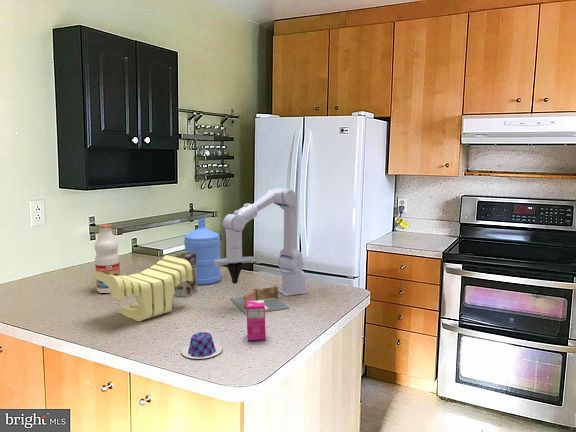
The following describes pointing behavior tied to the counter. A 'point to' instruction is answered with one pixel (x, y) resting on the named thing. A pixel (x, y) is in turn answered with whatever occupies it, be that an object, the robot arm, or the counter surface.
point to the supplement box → (256, 320)
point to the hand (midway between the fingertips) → (234, 282)
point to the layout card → (270, 303)
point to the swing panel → (249, 297)
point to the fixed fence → (267, 293)
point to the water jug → (204, 253)
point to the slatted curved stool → (149, 287)
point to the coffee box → (187, 286)
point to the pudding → (201, 346)
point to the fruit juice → (106, 256)
